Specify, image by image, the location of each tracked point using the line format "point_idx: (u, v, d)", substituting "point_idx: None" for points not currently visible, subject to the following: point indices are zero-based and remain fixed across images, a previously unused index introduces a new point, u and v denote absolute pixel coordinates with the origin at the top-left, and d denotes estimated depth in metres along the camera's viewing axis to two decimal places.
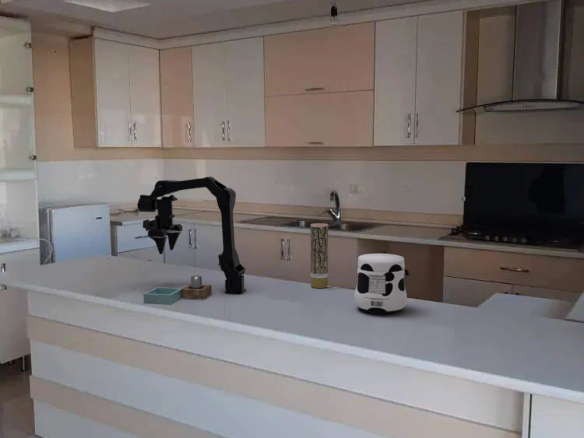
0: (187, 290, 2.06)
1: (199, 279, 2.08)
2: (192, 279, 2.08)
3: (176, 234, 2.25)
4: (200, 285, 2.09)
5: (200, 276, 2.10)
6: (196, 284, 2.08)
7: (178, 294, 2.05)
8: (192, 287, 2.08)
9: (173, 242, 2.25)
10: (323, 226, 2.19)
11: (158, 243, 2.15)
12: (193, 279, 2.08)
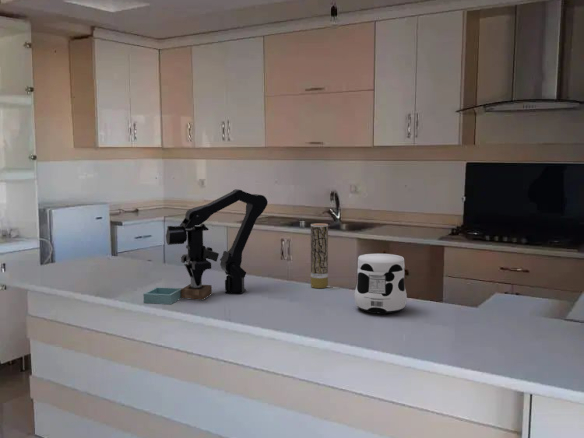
0: (187, 290, 2.06)
1: None
2: (192, 279, 2.08)
3: None
4: (200, 285, 2.09)
5: None
6: None
7: (178, 294, 2.05)
8: (192, 287, 2.08)
9: None
10: (323, 226, 2.19)
11: None
12: (193, 279, 2.08)
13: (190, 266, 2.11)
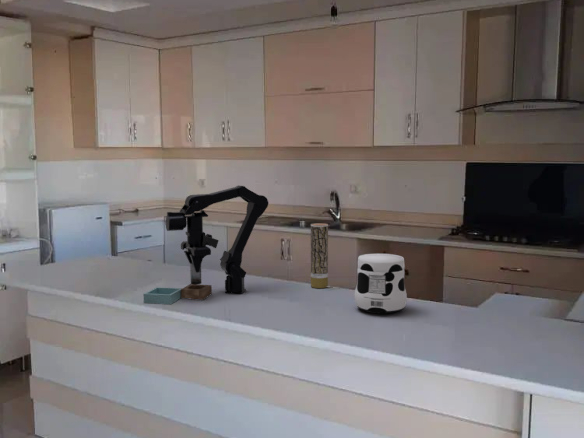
0: (187, 290, 2.06)
1: None
2: (191, 265, 2.07)
3: None
4: (199, 272, 2.08)
5: None
6: None
7: (178, 294, 2.05)
8: (191, 274, 2.08)
9: None
10: (323, 226, 2.19)
11: None
12: (192, 265, 2.07)
13: (190, 253, 2.10)
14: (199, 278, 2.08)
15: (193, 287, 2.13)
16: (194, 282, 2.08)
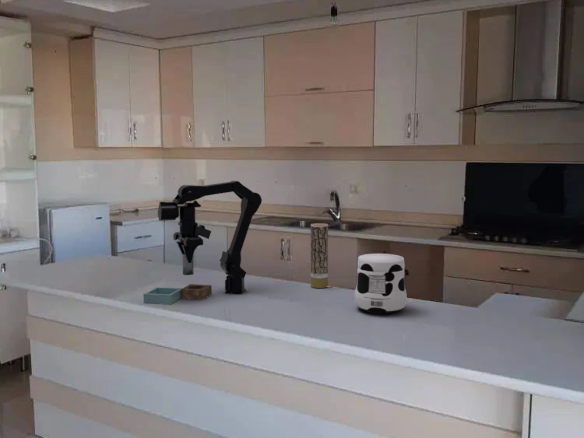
0: (187, 290, 2.06)
1: None
2: (184, 256, 2.06)
3: None
4: (192, 262, 2.07)
5: None
6: None
7: (178, 294, 2.05)
8: (184, 264, 2.06)
9: None
10: (323, 226, 2.19)
11: None
12: (185, 256, 2.06)
13: (182, 243, 2.09)
14: (191, 268, 2.07)
15: (193, 287, 2.13)
16: (186, 273, 2.06)
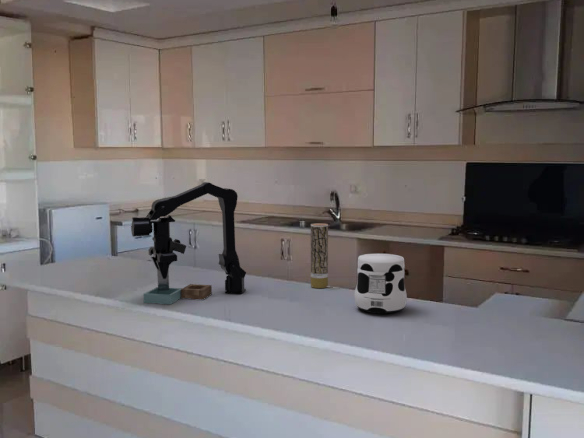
0: (187, 290, 2.06)
1: None
2: (158, 272, 2.03)
3: None
4: (167, 278, 2.04)
5: None
6: None
7: (178, 294, 2.05)
8: (158, 280, 2.03)
9: None
10: (323, 226, 2.19)
11: None
12: (159, 272, 2.02)
13: (157, 259, 2.06)
14: (167, 284, 2.04)
15: (193, 287, 2.13)
16: (161, 289, 2.03)
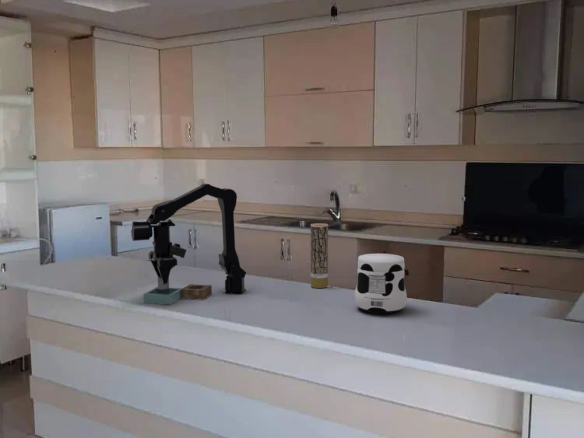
0: (187, 290, 2.06)
1: None
2: (159, 280, 2.03)
3: None
4: (167, 286, 2.04)
5: None
6: (163, 285, 2.03)
7: (178, 294, 2.05)
8: (159, 288, 2.03)
9: None
10: (323, 226, 2.19)
11: None
12: (160, 280, 2.03)
13: (156, 262, 2.07)
14: (167, 292, 2.04)
15: (193, 287, 2.13)
16: None
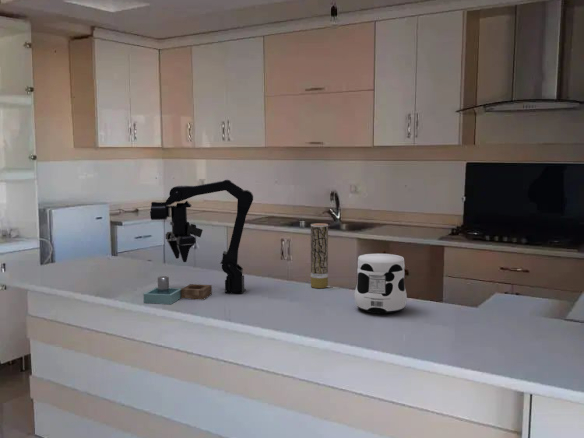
0: (187, 290, 2.06)
1: (166, 280, 2.03)
2: (159, 280, 2.03)
3: None
4: (167, 286, 2.04)
5: (167, 277, 2.05)
6: (163, 285, 2.03)
7: (178, 294, 2.05)
8: (159, 288, 2.03)
9: None
10: (323, 226, 2.19)
11: None
12: (160, 280, 2.03)
13: (173, 242, 2.18)
14: (167, 292, 2.04)
15: (193, 287, 2.13)
16: None
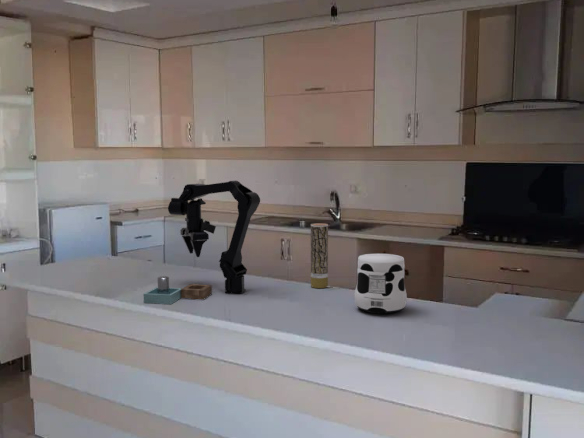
0: (187, 290, 2.06)
1: (166, 280, 2.03)
2: (159, 280, 2.03)
3: None
4: (167, 286, 2.04)
5: (167, 277, 2.05)
6: (163, 284, 2.03)
7: (178, 294, 2.05)
8: (159, 288, 2.03)
9: None
10: (323, 226, 2.19)
11: None
12: (160, 280, 2.03)
13: (187, 237, 2.27)
14: (167, 292, 2.04)
15: (193, 287, 2.13)
16: None
